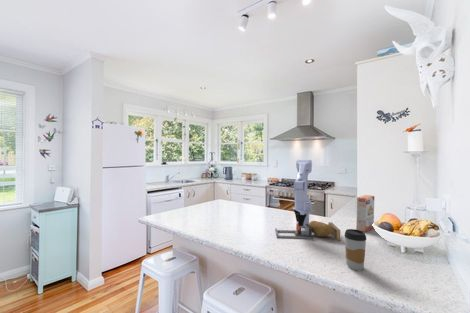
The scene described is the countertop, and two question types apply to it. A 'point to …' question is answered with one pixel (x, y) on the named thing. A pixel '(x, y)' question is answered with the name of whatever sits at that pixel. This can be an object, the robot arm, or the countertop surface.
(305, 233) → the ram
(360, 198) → the cracker box
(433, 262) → the countertop surface
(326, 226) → the potato
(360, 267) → the coffee cup
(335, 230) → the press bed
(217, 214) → the countertop surface
